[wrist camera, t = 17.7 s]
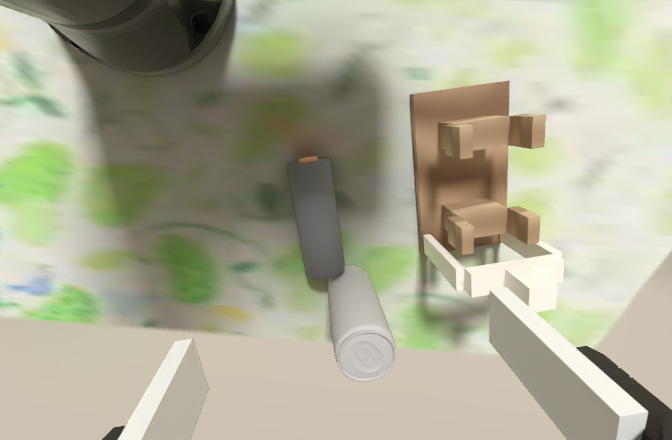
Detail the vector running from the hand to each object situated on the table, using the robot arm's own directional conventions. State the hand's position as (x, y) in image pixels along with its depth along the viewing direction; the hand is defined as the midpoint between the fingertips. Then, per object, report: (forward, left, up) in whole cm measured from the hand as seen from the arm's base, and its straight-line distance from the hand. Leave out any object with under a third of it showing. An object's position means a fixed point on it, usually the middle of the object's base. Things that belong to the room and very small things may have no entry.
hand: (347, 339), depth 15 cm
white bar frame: (+5, +14, -19) cm, 24 cm away
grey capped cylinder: (0, 0, -21) cm, 21 cm away
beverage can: (+9, +1, -21) cm, 23 cm away
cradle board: (-2, +14, -21) cm, 25 cm away
